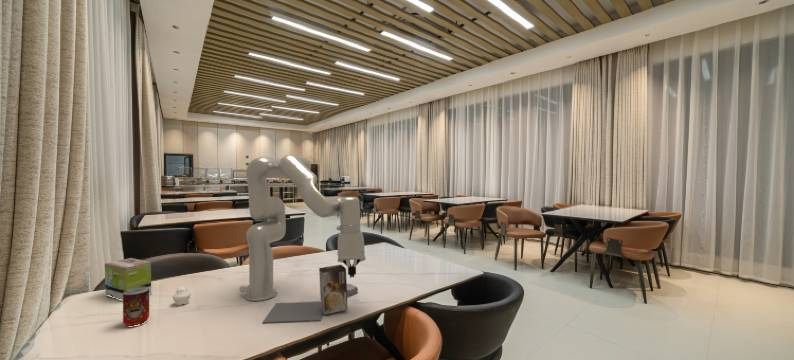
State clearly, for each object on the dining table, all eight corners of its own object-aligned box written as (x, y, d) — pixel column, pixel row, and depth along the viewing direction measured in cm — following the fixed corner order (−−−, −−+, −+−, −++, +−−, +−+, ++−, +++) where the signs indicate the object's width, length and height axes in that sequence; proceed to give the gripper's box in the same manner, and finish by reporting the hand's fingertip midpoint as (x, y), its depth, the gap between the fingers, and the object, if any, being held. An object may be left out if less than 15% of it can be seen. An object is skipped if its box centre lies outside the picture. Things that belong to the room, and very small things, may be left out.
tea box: (104, 297, 131) (103, 262, 130) (131, 289, 140) (131, 257, 140) (124, 303, 125) (124, 266, 125) (152, 294, 134) (152, 260, 134)
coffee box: (343, 303, 123) (342, 263, 122) (348, 309, 117) (346, 268, 117) (320, 308, 119) (318, 267, 118) (324, 315, 113) (322, 272, 113)
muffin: (171, 304, 124) (171, 286, 124) (188, 299, 128) (188, 283, 128) (174, 308, 120) (174, 290, 120) (193, 303, 124) (193, 286, 124)
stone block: (324, 300, 133) (339, 301, 127) (323, 289, 133) (338, 289, 128) (344, 293, 142) (359, 294, 136) (343, 282, 143) (358, 283, 137)
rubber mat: (262, 323, 108) (262, 321, 108) (276, 304, 124) (276, 303, 124) (320, 321, 110) (320, 319, 110) (326, 302, 126) (326, 301, 126)
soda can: (123, 330, 103) (123, 294, 103) (122, 323, 108) (122, 288, 108) (150, 324, 107) (150, 289, 107) (148, 317, 113) (148, 283, 113)
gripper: (329, 231, 114) (331, 281, 114) (370, 229, 115) (371, 278, 115) (331, 228, 121) (333, 274, 121) (369, 226, 123) (371, 272, 123)
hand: (352, 276), depth 118 cm, fingers closed
